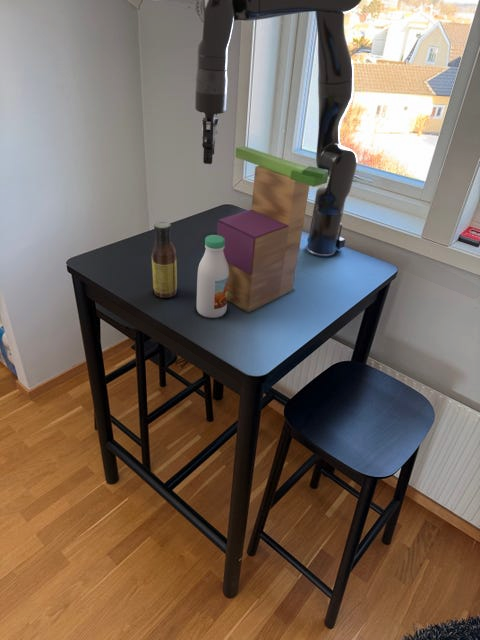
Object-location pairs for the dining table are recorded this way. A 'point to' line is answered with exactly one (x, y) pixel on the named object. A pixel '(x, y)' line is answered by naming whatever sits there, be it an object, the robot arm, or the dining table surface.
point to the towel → (244, 236)
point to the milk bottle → (213, 279)
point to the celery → (284, 166)
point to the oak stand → (271, 241)
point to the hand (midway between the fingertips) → (208, 158)
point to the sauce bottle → (164, 261)
